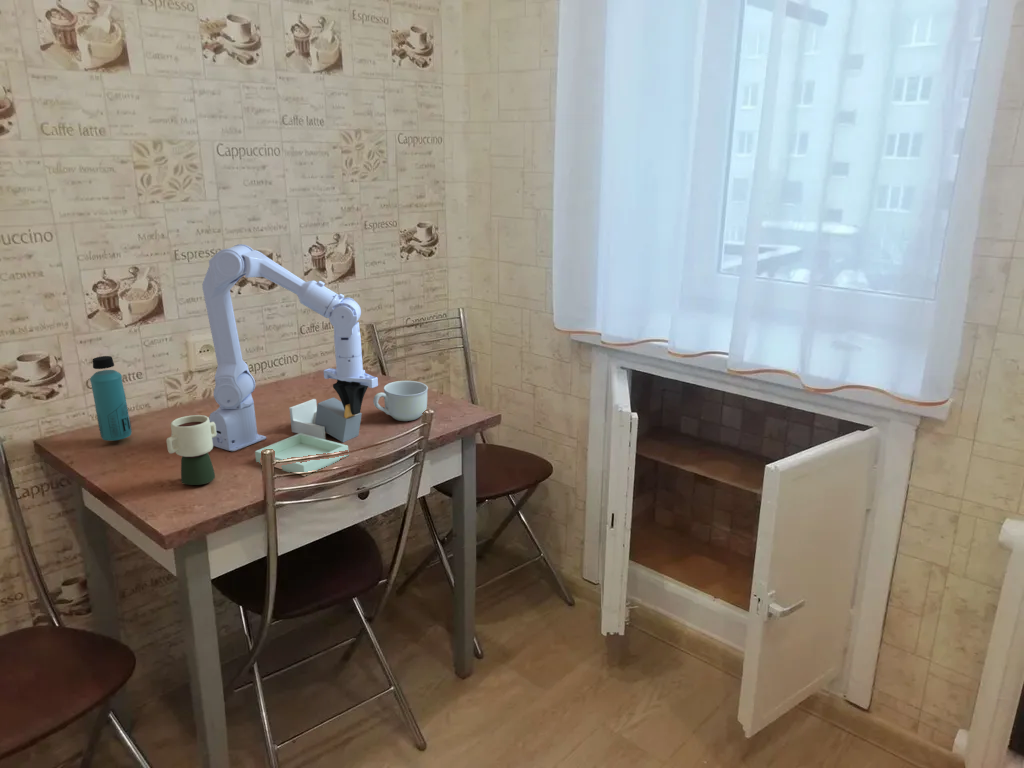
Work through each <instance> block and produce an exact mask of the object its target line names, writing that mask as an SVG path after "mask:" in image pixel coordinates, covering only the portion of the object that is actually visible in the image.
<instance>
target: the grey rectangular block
mask: <svg viewBox="0 0 1024 768" xmlns="http://www.w3.org/2000/svg"><path fill="white" fill-rule="evenodd" d="M316 404H317V412H316V420H315V424H316V425H319V426H323V427H325V434H327V435H330V436H331V437H333V438H335V439H336V440H338V441H339V442H341V443H345V442H348V441H349V440H350V441H351V440H353V439H354V438H356V437H359V434H360V428H361V421H362V414H363V413H362V412H360V413H358V414H356V415H352V413H351V409H350V404H348V405H346V406H345V410H344V407H343V404H342V401H341V400H339V399H338V398H335V397H331V398H328V399H326V400H322V401H320V402H317V403H316Z"/></svg>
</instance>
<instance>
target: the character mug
mask: <svg viewBox="0 0 1024 768" xmlns="http://www.w3.org/2000/svg"><path fill="white" fill-rule="evenodd" d="M209 417H210V416H207V415H201V414H195V415H185V416H181V417H177V418H175V419H173V420H172V421H171V422H170V429H171V436H169V437H167V438H166V446H167V451H168V453H169V454H174V453H175V454H176V455H178V456H181V459H180V478H181V479H180V480H181V484H183V485H190V486H201V485H206V484H208V483H210V482H213V481H214V479H215V478H216V475H215V474H216V473H215V470H214V466H213V463H212V458H211V456H210V454H209V452H211V451H213V448H214V446H213V441H212V438H213V437H215V436H216V435H217V432H216V425H215V423H214V422H210V421H209Z"/></svg>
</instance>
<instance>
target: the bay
mask: <svg viewBox="0 0 1024 768" xmlns="http://www.w3.org/2000/svg"><path fill="white" fill-rule="evenodd" d="M317 404H318V403H317V399H316V398H312V399H310V400H307V401H304V402H302V403H298V404H296V405H293V406H289V407H288V408H289V417H290V425H291V426H290V428H291V432H292V433H294V434H299V433H303V434H307V435H310V436H314V437H318V438H322V439H325V440H327V438H326V432H325V427H323V426H319V425H316V424H315V420H316V412H317Z"/></svg>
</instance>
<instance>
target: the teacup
mask: <svg viewBox="0 0 1024 768" xmlns="http://www.w3.org/2000/svg"><path fill="white" fill-rule="evenodd" d="M428 390H429V387H428V385H427V384H425V383H423V382H421V381H416V380H397V381H393V382H388V383H386V385H384V386H383V391H384V392H377V393H376V394H375V395H374V397H373V403H372V404H373V405H374V407H375V408H376V409H378V410H379V411H381V412H384V413H385V414H386V415H389V416H390V417H391V418H393V419H394V420H396V421H401V422H408V421H409V422H410V421H416V420H417V419H419V418H420V417H421V416H423V414H422V413H423V412H424V411H425V410H427V409H428ZM380 398H384V407H383V406H381V405H380V403H379V400H380ZM425 412H426V411H425ZM425 412H424V413H425Z"/></svg>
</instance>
